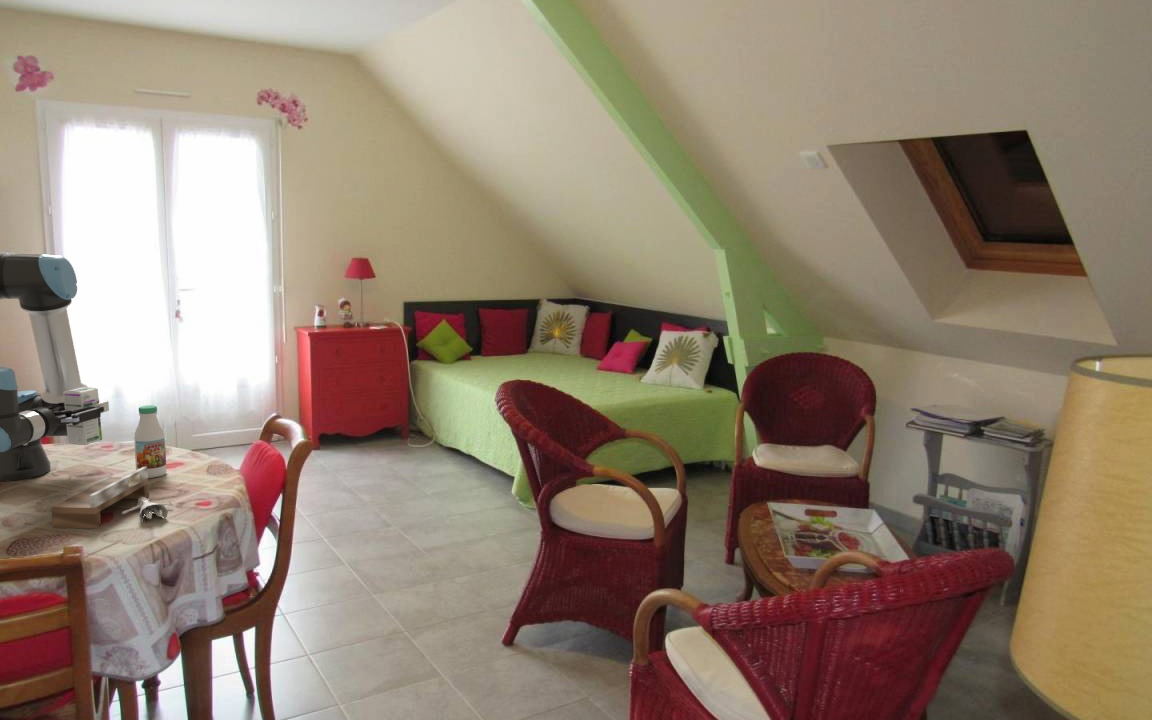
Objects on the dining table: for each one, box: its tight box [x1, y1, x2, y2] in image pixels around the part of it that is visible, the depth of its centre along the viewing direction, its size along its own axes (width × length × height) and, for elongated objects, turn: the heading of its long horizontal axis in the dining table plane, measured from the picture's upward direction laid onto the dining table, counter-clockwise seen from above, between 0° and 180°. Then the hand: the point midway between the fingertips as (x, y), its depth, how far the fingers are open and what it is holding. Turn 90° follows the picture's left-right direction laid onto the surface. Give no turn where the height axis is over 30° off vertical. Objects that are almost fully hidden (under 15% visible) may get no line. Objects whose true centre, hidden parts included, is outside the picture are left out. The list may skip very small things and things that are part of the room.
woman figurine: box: [122, 496, 175, 523], centre depth 198 cm, size 12×4×18 cm
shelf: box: [51, 467, 150, 529], centre depth 199 cm, size 24×10×8 cm, turn 1°
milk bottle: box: [133, 404, 167, 479], centre depth 228 cm, size 8×8×20 cm
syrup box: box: [63, 386, 103, 446], centre depth 215 cm, size 6×6×14 cm
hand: (95, 405), depth 219 cm, fingers closed on syrup box, 6 cm apart
